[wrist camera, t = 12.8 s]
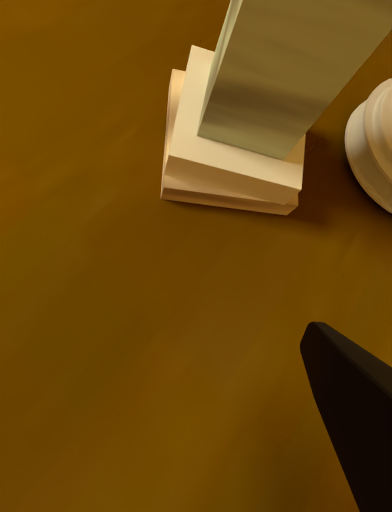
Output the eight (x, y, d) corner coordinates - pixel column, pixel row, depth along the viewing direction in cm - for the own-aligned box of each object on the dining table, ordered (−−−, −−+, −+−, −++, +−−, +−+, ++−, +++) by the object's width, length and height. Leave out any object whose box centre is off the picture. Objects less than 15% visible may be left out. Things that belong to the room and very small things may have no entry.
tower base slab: (282, 218, 27) (298, 205, 25) (159, 202, 26) (163, 187, 23) (279, 113, 30) (293, 93, 28) (168, 92, 28) (172, 68, 26)
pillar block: (283, 159, 23) (418, -4, 12) (196, 135, 22) (264, -63, 11) (290, 89, 25) (413, -105, 14) (211, 64, 24) (280, -162, 13)
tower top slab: (284, 205, 25) (301, 189, 22) (163, 174, 23) (168, 154, 21) (293, 105, 28) (309, 82, 25) (185, 72, 26) (192, 44, 24)
